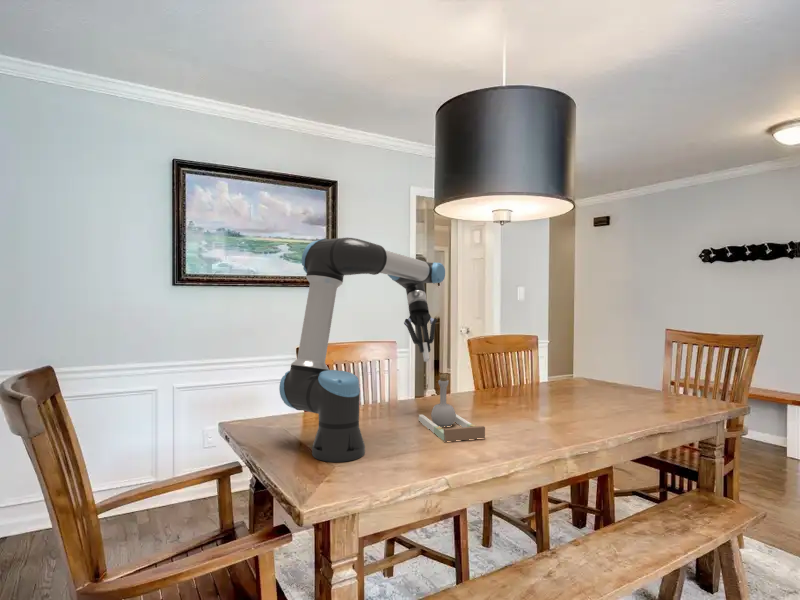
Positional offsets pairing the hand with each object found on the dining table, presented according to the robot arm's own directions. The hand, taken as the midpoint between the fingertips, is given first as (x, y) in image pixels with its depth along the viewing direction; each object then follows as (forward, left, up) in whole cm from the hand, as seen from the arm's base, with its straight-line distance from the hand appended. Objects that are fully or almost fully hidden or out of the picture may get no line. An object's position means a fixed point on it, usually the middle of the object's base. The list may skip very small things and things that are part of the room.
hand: (426, 360), depth 177 cm
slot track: (-11, -8, -22) cm, 26 cm away
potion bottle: (-5, -6, -23) cm, 24 cm away
